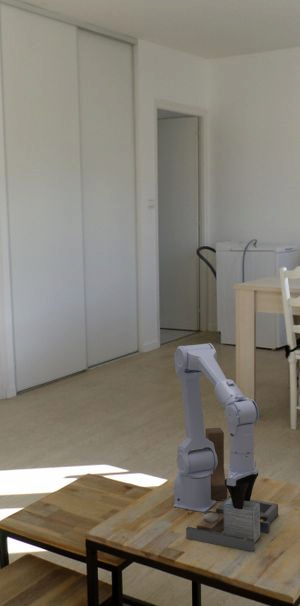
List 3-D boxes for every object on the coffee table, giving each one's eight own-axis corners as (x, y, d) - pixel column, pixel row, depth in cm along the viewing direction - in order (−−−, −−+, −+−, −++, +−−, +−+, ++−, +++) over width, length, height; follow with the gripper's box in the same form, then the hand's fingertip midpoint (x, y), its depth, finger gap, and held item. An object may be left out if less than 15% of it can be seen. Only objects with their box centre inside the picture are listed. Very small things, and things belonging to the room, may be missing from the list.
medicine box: (260, 536, 182) (260, 502, 181) (254, 544, 178) (254, 509, 177) (230, 531, 186) (230, 497, 185) (223, 538, 182) (223, 503, 181)
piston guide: (186, 538, 182) (185, 527, 182) (206, 519, 193) (206, 509, 193) (252, 552, 174) (252, 541, 174) (269, 531, 185) (269, 520, 185)
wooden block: (227, 500, 205) (227, 436, 203) (211, 501, 205) (211, 437, 203) (221, 488, 214) (220, 427, 212) (205, 489, 214) (205, 428, 212)
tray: (216, 519, 193) (216, 508, 192) (229, 506, 201) (229, 495, 201) (266, 528, 187) (266, 517, 186) (278, 515, 195) (278, 504, 194)
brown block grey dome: (196, 536, 183) (196, 521, 182) (210, 522, 190) (210, 508, 190) (211, 539, 181) (211, 524, 180) (225, 525, 189) (225, 511, 188)
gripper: (246, 461, 171) (246, 518, 173) (267, 443, 184) (267, 497, 185) (218, 457, 174) (218, 513, 176) (240, 440, 187) (240, 492, 189)
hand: (241, 504), depth 181 cm, fingers closed on medicine box, 4 cm apart
